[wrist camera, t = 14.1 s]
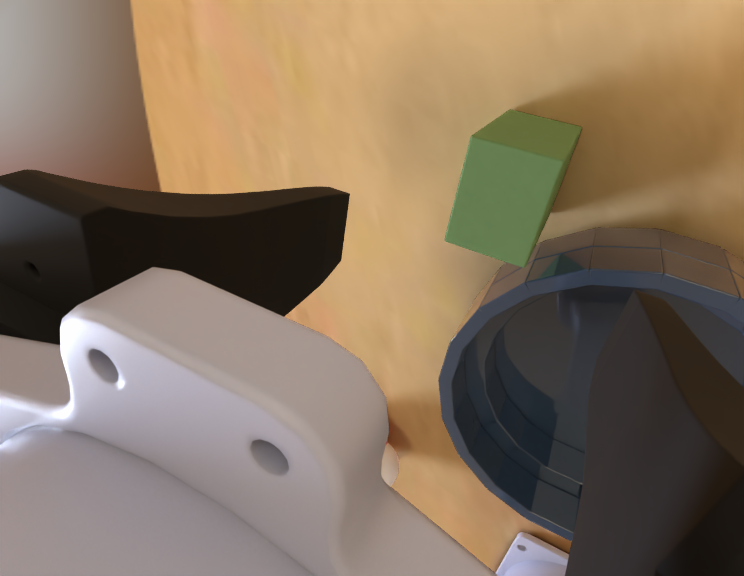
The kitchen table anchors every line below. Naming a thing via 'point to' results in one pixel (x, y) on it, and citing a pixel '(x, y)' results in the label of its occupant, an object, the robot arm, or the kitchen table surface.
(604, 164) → the kitchen table surface
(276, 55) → the kitchen table surface
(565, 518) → the bowl
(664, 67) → the kitchen table surface
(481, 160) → the green block
